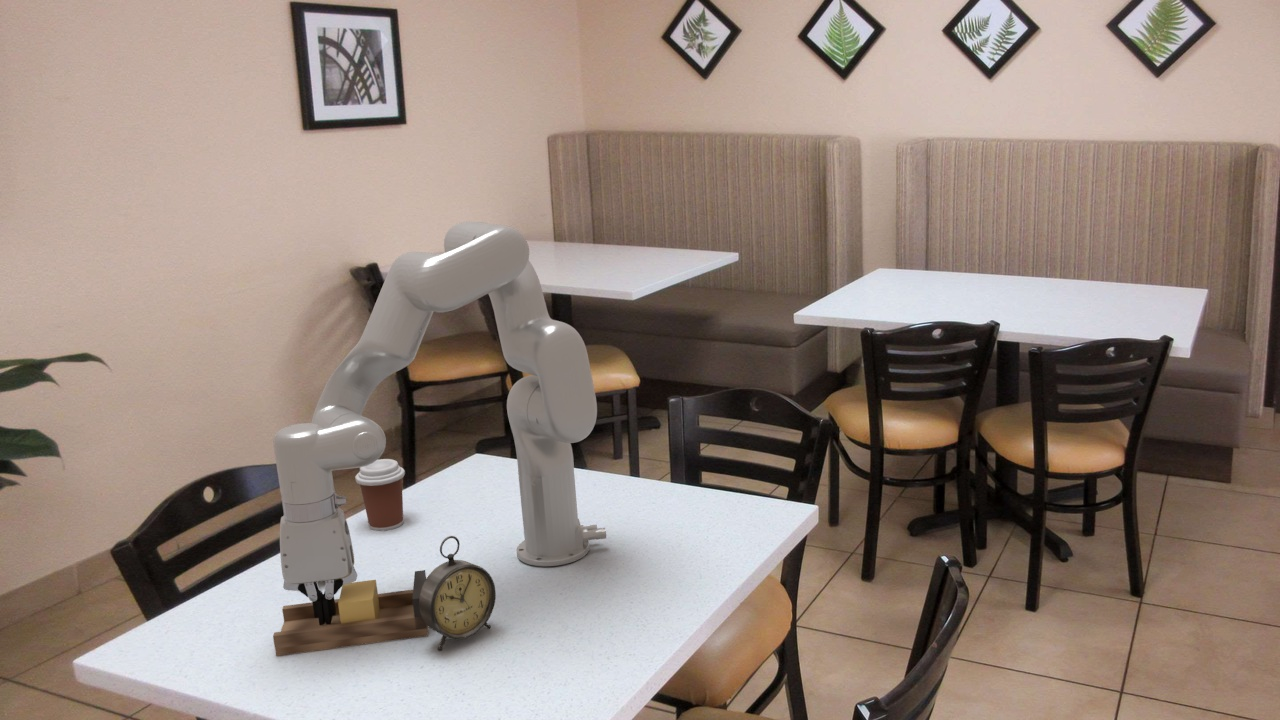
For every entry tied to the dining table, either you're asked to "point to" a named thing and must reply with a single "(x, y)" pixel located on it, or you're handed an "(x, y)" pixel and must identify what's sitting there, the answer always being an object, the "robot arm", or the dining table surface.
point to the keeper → (359, 602)
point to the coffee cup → (382, 493)
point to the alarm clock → (457, 598)
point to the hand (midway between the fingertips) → (326, 620)
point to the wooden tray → (353, 624)
